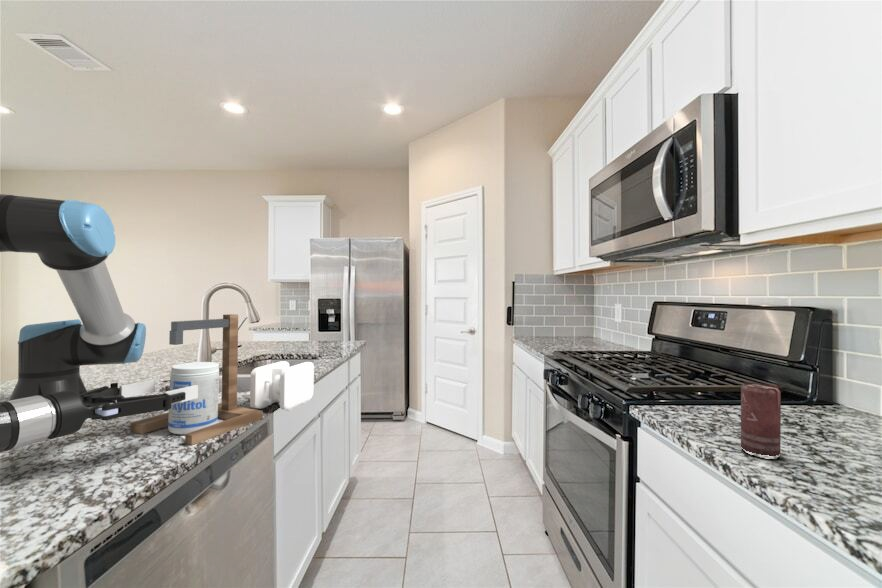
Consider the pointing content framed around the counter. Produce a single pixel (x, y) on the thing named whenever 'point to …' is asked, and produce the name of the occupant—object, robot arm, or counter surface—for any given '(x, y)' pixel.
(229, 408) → the wooden hook stand
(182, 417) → the supplement tub
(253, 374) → the cable organizer
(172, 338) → the hook arm
